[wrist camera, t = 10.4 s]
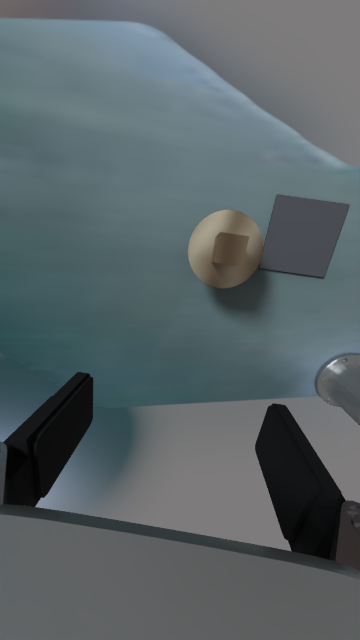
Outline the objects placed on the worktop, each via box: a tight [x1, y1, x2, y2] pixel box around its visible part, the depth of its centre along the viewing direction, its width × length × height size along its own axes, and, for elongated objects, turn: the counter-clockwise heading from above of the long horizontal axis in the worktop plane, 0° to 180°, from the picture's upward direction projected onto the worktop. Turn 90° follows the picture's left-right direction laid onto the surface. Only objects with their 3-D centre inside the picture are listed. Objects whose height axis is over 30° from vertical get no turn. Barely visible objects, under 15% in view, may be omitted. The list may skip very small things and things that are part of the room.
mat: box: [258, 195, 350, 277], centre depth 35 cm, size 12×12×1 cm
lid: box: [188, 210, 263, 288], centre depth 27 cm, size 11×11×6 cm
